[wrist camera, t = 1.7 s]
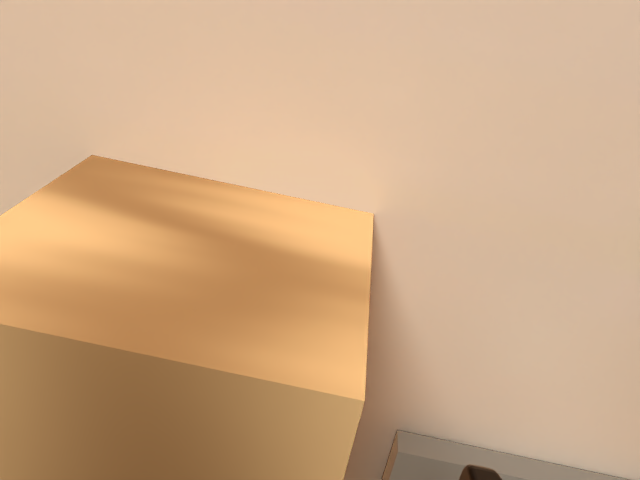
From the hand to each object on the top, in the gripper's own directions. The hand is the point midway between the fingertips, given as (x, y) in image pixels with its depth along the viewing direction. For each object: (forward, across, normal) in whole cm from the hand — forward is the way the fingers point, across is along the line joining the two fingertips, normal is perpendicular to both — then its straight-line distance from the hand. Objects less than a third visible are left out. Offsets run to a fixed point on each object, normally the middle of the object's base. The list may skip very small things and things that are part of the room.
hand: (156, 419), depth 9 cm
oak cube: (+3, 0, 0) cm, 3 cm away
